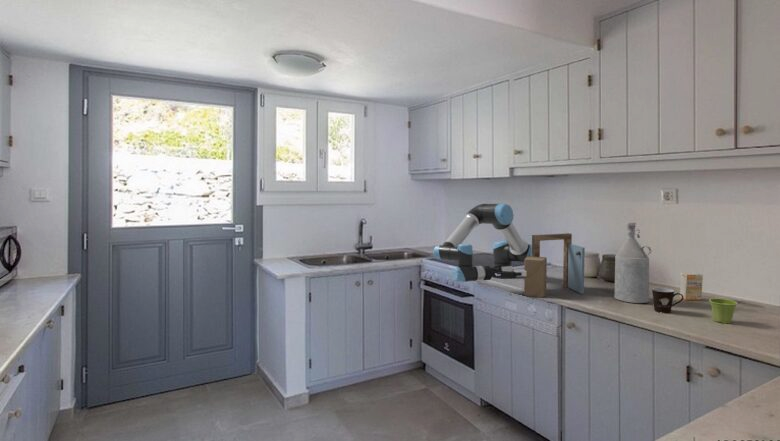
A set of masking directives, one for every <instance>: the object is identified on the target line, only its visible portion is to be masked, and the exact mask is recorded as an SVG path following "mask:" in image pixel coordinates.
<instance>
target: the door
mask: <svg viewBox="0 0 780 441" xmlns="http://www.w3.org/2000/svg"><path fill="white" fill-rule="evenodd" d="M585 248H586V247H584V246H580V245H577V244H573V243H572V244H568V287H569V289H571V290H573V291H575V292H577V293H579V294H580V295H584V294H585V252H586V251H585Z"/></svg>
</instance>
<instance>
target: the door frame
mask: <svg viewBox="0 0 780 441" xmlns="http://www.w3.org/2000/svg"><path fill="white" fill-rule="evenodd" d="M572 237H573V234H572V233H568V232H566V233H550V234H549V233H547V234H545V233H544V234H532V235H531V245H532V257H541V254H540V252H541V251H540V250H541V241H560V240H562V241H563V265H562V266H563V267H562V268H563V274H562V276H563V277H562V279H563V282H562V285H563V287H564V288H566V289H567V288H569V287H568V244H573V242H572V240H573V239H572ZM569 289H570V288H569Z"/></svg>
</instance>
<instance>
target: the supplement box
mask: <svg viewBox="0 0 780 441" xmlns="http://www.w3.org/2000/svg"><path fill="white" fill-rule="evenodd" d="M679 293H680V294H682V295H683V300H684V301H702V300H703V299H702V296H703V295H702V294H703V274H701V273H697V272H693V273H692V272H684V273H683V272H680V284H679ZM679 298H680V300H681V299H682V296H681V295H679Z"/></svg>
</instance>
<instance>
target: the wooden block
mask: <svg viewBox="0 0 780 441" xmlns="http://www.w3.org/2000/svg"><path fill="white" fill-rule="evenodd" d="M547 263H548V260H547V257H546V256H545V257H544V256H540V257H531V256H528V257H527V258H525V260H524V265H523V266H524V268H523V269H524V270H523V271H527V272H526V276H523V277H524V280H523V281H524V283H523V284H524V286H523V288H524V289H523V291H524V292H523V293H524V295H523V296H525V297H526V296H527V297H536V298H544V297H545V296H546V294H547V272H548V271H547V270H548V269H547V266H548V265H547Z"/></svg>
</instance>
